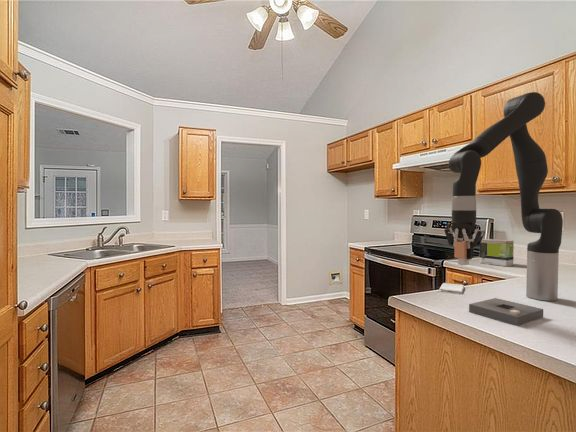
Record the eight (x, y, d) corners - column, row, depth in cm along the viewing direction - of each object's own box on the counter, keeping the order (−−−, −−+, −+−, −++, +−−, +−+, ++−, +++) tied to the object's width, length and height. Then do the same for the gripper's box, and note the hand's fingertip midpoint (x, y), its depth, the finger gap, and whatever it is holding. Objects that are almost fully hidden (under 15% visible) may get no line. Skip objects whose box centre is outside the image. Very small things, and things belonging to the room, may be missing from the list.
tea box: (513, 265, 192) (514, 240, 191) (506, 266, 186) (506, 241, 186) (486, 261, 204) (487, 238, 204) (478, 263, 198) (479, 239, 198)
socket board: (495, 305, 111) (495, 295, 111) (543, 317, 99) (543, 306, 99) (469, 311, 104) (469, 301, 104) (517, 325, 92) (517, 314, 92)
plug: (463, 263, 116) (463, 240, 116) (472, 264, 113) (472, 241, 113) (454, 264, 114) (454, 241, 113) (463, 265, 111) (464, 242, 110)
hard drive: (442, 282, 140) (438, 288, 130) (464, 285, 136) (461, 291, 126) (442, 286, 140) (438, 292, 130) (464, 289, 136) (461, 295, 126)
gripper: (490, 209, 109) (490, 260, 109) (451, 209, 121) (451, 255, 121) (477, 209, 105) (477, 262, 105) (438, 209, 117) (438, 256, 118)
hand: (463, 258), depth 113 cm, fingers closed on plug, 3 cm apart
